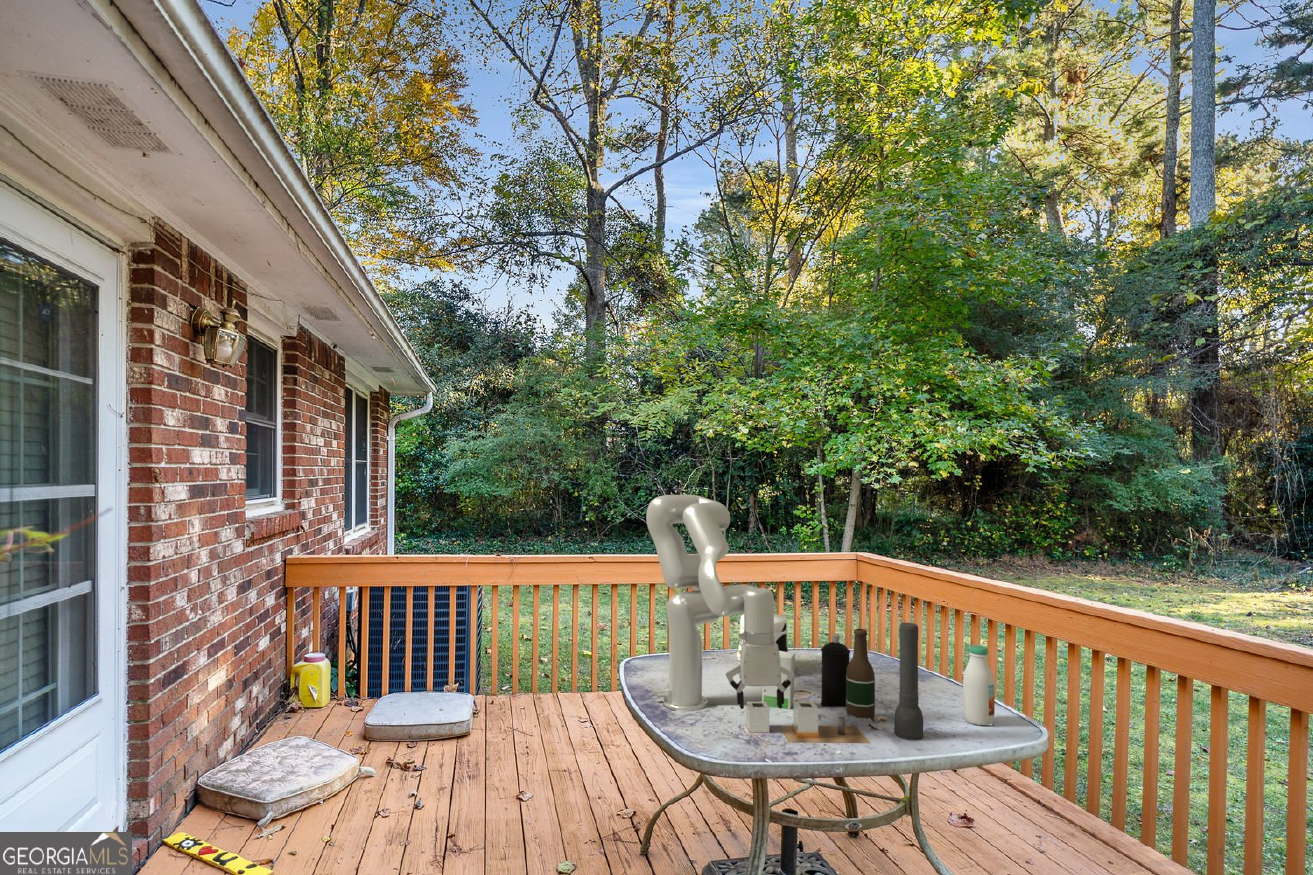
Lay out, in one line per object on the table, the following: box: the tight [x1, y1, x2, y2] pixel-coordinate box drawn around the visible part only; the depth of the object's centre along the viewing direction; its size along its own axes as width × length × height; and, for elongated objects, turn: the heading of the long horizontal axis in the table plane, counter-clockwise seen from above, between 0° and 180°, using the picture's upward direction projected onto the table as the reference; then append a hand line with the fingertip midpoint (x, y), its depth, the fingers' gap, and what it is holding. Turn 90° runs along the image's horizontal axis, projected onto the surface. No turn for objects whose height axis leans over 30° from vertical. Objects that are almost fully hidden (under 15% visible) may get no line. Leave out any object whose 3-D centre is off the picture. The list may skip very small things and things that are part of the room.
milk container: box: [736, 613, 789, 667], centre depth 229 cm, size 17×17×18 cm
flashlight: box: [893, 622, 924, 741], centre depth 176 cm, size 7×28×7 cm
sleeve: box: [745, 701, 771, 734], centre depth 174 cm, size 5×5×7 cm
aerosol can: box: [820, 634, 851, 708], centre depth 197 cm, size 8×8×20 cm
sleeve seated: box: [792, 701, 819, 738], centre depth 171 cm, size 5×5×7 cm
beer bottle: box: [845, 628, 876, 722], centre depth 187 cm, size 8×8×24 cm
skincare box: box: [761, 651, 796, 710], centre depth 193 cm, size 8×7×16 cm
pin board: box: [779, 716, 871, 744], centre depth 171 cm, size 20×11×6 cm, turn 91°
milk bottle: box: [962, 644, 996, 726], centre depth 186 cm, size 8×8×20 cm
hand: (760, 707), depth 173 cm, fingers open, 9 cm apart
